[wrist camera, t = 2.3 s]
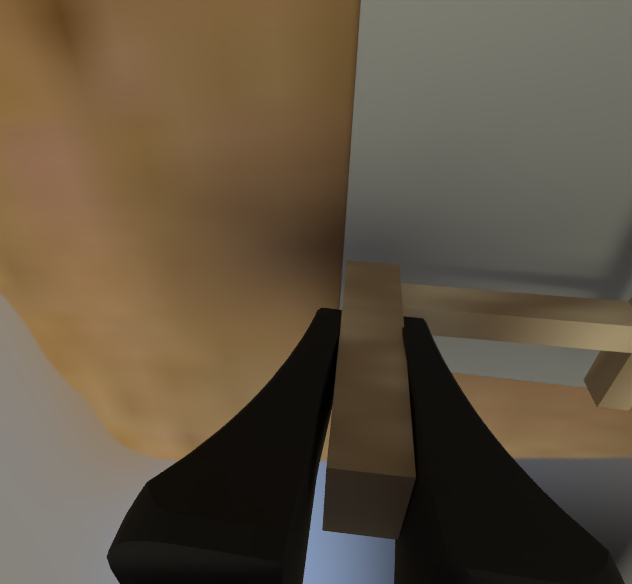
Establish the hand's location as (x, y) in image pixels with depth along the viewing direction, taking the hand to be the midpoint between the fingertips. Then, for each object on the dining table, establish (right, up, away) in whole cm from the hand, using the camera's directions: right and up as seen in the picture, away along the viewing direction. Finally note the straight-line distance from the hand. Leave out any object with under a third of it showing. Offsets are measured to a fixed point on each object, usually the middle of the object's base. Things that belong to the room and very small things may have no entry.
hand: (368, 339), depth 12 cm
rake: (+4, +1, +1) cm, 5 cm away
